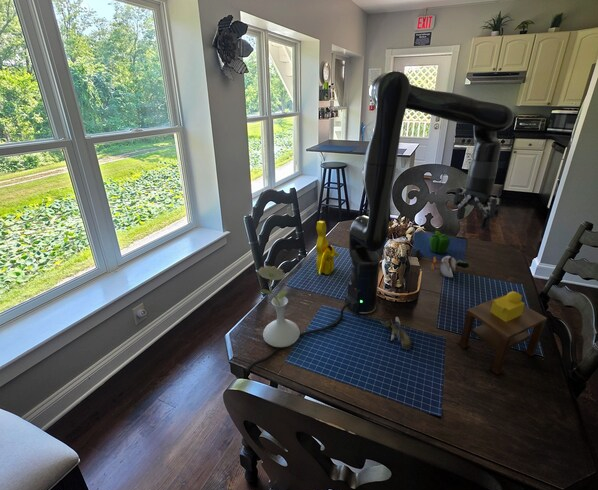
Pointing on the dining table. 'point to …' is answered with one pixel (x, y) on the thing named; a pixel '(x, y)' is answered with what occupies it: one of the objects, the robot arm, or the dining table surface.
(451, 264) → the decorative duck model
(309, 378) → the dining table surface
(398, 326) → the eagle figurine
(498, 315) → the rubber duck
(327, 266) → the figure statuette
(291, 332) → the flower in vase
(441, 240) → the bell pepper
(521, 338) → the wooden side table
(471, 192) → the robot arm
